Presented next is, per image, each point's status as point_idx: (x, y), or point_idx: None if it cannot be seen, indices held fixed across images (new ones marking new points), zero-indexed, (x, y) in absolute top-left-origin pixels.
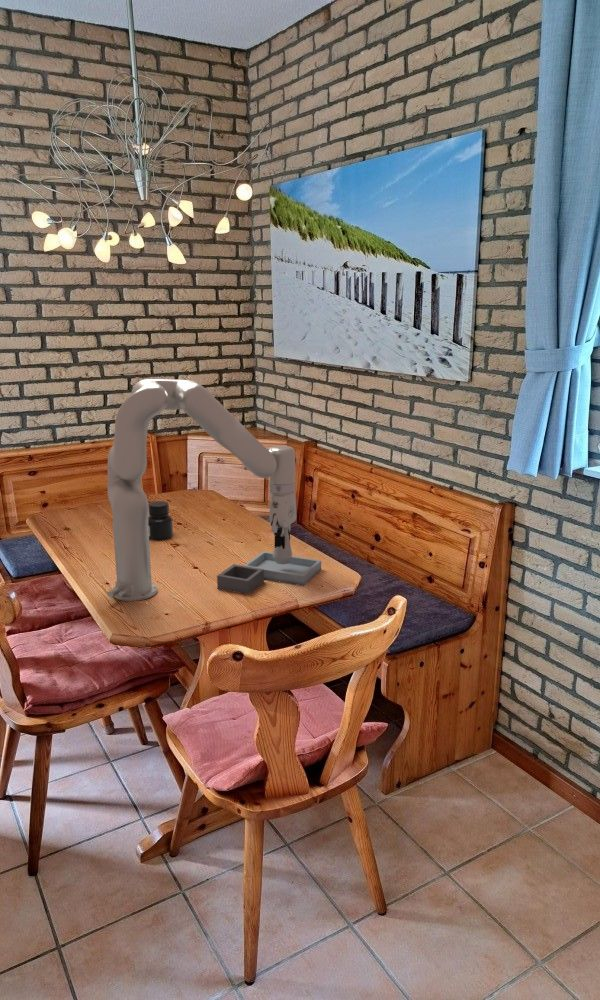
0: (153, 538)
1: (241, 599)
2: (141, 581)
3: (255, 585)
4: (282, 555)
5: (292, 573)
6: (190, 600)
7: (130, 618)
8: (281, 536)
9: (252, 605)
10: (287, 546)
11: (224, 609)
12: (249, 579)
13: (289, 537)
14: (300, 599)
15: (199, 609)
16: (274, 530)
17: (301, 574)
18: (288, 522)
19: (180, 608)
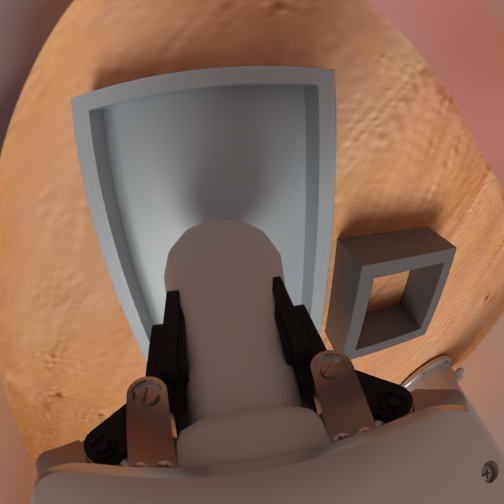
0: None
1: (452, 225)
2: (453, 380)
3: (398, 237)
4: (277, 256)
5: (325, 135)
6: (453, 308)
7: (487, 321)
8: (342, 359)
9: (472, 183)
10: (251, 272)
11: (485, 230)
12: (447, 251)
13: (175, 332)
14: (417, 59)
15: (481, 270)
16: (462, 400)
17: (222, 125)
18: (377, 488)
19: (475, 297)
